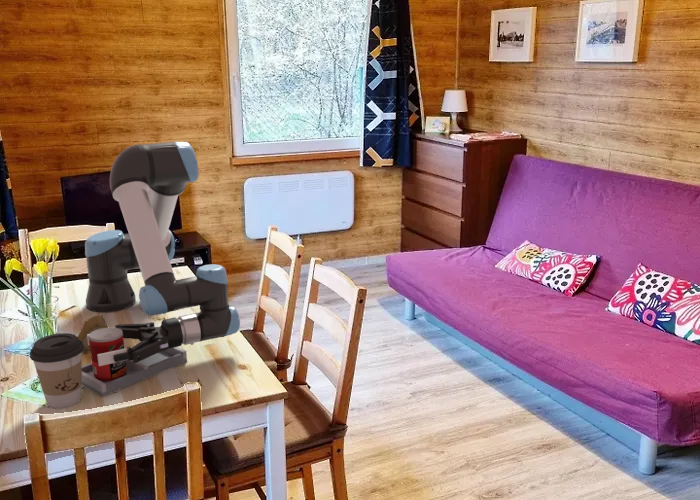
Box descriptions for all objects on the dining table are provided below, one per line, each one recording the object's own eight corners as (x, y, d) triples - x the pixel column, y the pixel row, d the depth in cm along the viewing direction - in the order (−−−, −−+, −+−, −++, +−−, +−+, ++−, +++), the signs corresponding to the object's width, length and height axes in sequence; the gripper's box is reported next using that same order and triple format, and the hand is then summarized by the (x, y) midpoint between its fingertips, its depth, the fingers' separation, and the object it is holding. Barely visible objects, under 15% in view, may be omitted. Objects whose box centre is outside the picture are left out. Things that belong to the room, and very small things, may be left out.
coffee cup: (51, 419, 143) (41, 356, 138) (28, 402, 150) (19, 342, 146) (99, 399, 151) (92, 339, 147) (76, 384, 158) (68, 327, 154)
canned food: (117, 383, 156) (112, 340, 153) (87, 380, 158) (81, 338, 155) (133, 369, 164) (128, 328, 161) (104, 366, 165) (99, 326, 162)
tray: (72, 379, 161) (70, 368, 160) (155, 347, 178) (154, 337, 178) (102, 396, 152) (101, 385, 151) (187, 361, 170) (186, 350, 169)
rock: (67, 352, 170) (106, 344, 172) (63, 321, 173) (102, 313, 175) (79, 360, 180) (116, 352, 182) (75, 331, 183) (112, 323, 185)
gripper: (196, 362, 158) (104, 384, 148) (167, 328, 179) (85, 345, 168) (193, 334, 156) (101, 354, 146) (165, 303, 177) (82, 318, 166)
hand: (92, 349), depth 157 cm, fingers open, 13 cm apart
